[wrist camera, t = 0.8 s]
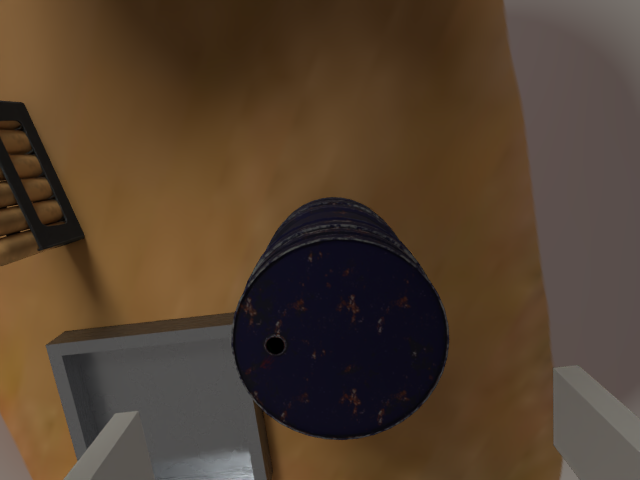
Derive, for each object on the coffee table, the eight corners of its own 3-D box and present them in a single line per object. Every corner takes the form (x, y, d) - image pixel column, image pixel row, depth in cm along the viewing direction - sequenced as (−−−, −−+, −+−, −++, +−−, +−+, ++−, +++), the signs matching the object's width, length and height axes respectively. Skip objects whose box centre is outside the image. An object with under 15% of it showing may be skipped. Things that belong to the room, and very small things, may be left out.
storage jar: (397, 193, 32) (456, 231, 18) (396, 316, 34) (449, 439, 20) (266, 198, 33) (218, 238, 18) (273, 319, 35) (235, 443, 20)
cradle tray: (65, 331, 35) (45, 345, 33) (245, 311, 34) (239, 323, 32) (106, 487, 38) (91, 510, 36) (272, 471, 38) (269, 493, 35)
